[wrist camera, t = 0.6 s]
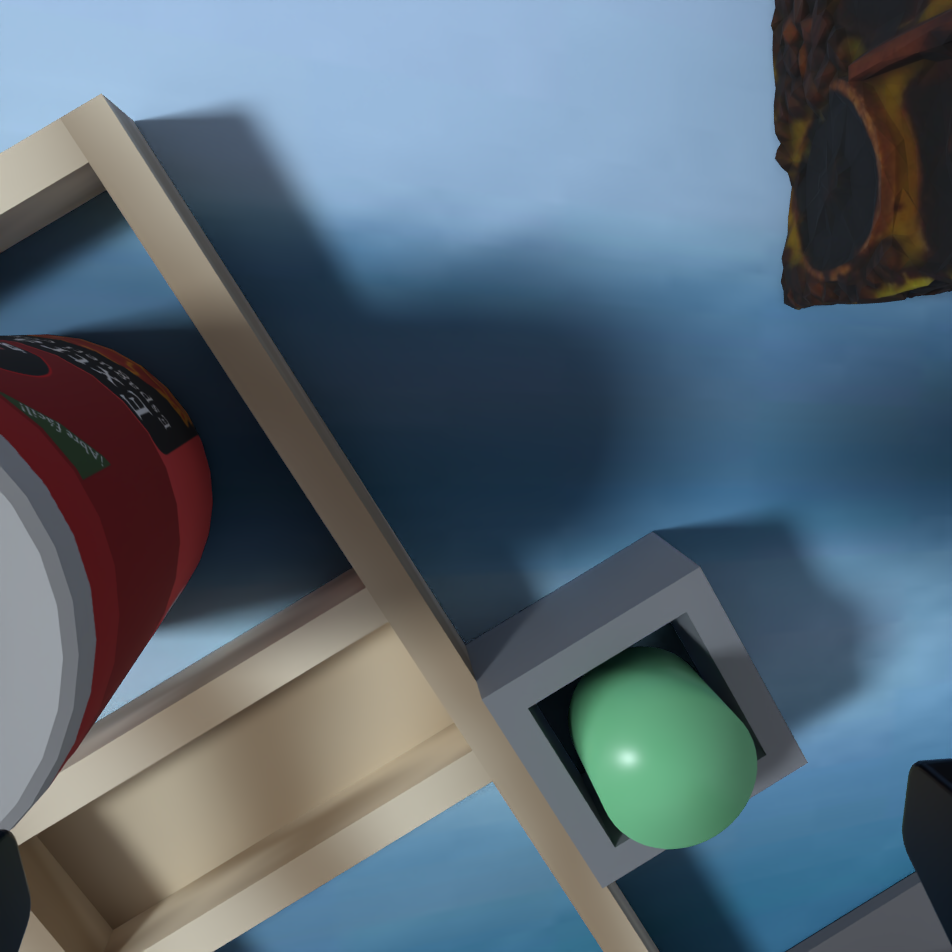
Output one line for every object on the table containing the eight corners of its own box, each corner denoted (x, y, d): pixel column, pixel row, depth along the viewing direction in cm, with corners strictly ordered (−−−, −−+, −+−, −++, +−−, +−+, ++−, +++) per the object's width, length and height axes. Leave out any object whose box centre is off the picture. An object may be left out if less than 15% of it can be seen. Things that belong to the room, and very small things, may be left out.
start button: (610, 804, 22) (646, 878, 19) (542, 694, 22) (569, 754, 19) (729, 731, 22) (783, 793, 19) (665, 619, 22) (712, 666, 19)
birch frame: (341, 1241, 27) (338, 1335, 24) (-347, 405, 20) (-445, 416, 18) (702, 1019, 27) (736, 1089, 24) (133, 120, 20) (101, 93, 18)
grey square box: (570, 810, 25) (602, 888, 22) (465, 645, 24) (481, 699, 20) (747, 702, 25) (807, 763, 22) (652, 531, 24) (700, 566, 20)
